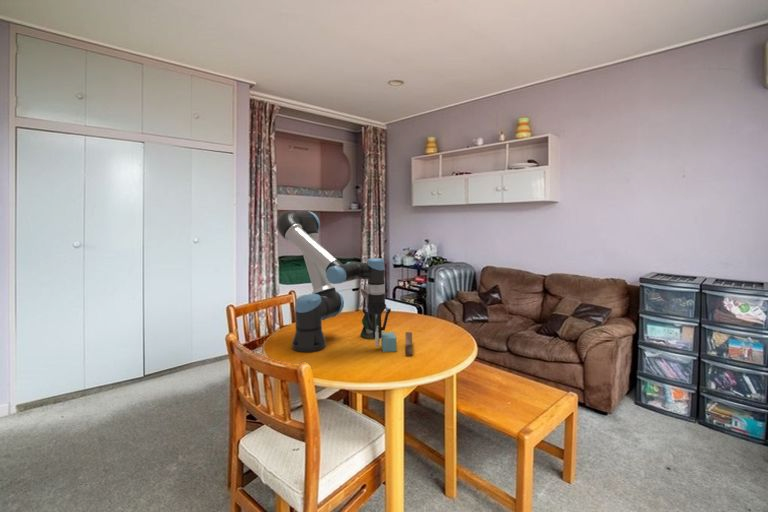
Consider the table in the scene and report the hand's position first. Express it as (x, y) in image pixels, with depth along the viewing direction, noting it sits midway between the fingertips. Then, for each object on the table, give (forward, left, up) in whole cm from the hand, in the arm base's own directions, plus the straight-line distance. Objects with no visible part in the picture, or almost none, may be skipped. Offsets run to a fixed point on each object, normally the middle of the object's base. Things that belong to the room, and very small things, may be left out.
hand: (377, 345), depth 177 cm
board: (+14, 0, -2) cm, 14 cm away
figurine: (-4, +19, -2) cm, 20 cm away
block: (+5, +1, -2) cm, 5 cm away
